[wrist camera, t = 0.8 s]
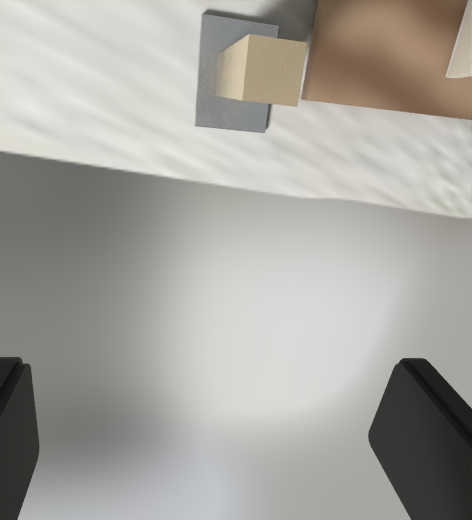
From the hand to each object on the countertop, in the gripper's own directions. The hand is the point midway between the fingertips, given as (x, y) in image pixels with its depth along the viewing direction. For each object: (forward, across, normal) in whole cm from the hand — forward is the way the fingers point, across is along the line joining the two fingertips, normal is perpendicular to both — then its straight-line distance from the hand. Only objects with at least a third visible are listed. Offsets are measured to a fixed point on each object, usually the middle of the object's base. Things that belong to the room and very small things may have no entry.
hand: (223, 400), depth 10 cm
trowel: (+27, -4, -8) cm, 28 cm away
